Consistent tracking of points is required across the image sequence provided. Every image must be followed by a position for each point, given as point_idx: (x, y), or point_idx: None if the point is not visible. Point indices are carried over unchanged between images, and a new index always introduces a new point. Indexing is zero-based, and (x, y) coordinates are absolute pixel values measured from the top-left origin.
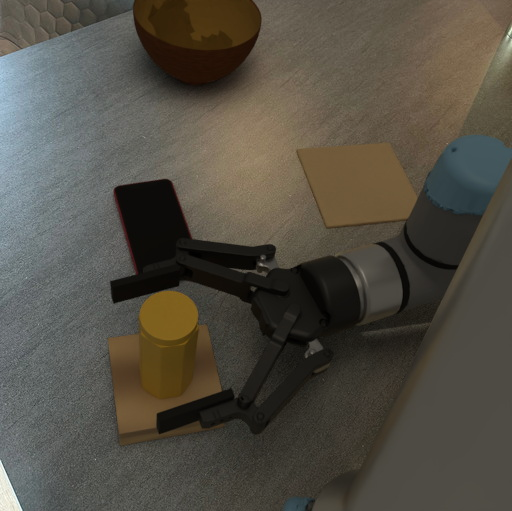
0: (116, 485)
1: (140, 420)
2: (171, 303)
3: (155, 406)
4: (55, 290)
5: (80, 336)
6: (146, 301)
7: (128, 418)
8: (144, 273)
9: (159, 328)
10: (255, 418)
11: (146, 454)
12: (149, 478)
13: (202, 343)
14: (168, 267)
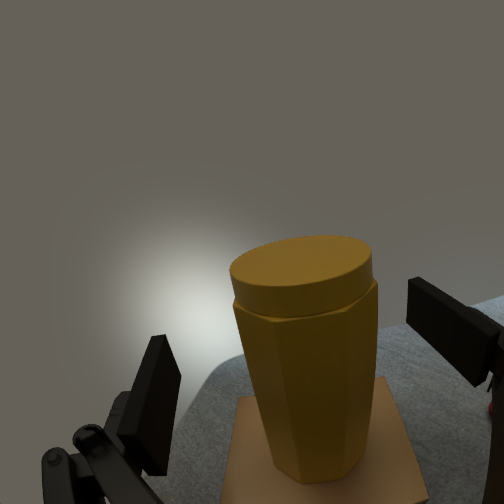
0: (203, 417)
1: (249, 417)
2: (332, 253)
3: (265, 434)
4: None
5: (398, 375)
6: (336, 236)
7: (255, 404)
8: (453, 300)
9: (266, 252)
10: (57, 450)
11: (226, 446)
12: (196, 445)
13: (384, 497)
14: (484, 321)
